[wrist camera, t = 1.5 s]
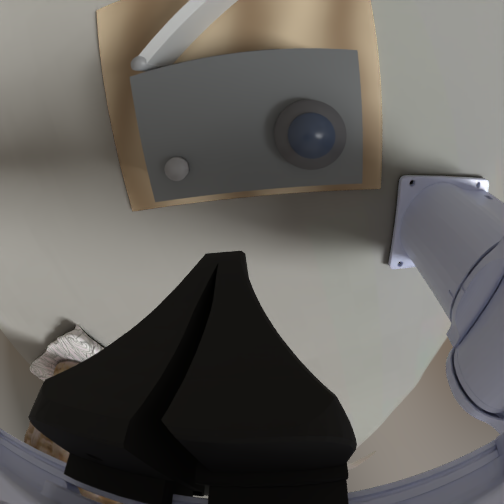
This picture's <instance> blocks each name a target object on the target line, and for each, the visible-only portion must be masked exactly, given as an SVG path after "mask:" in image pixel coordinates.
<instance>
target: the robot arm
mask: <svg viewBox="0 0 504 504" xmlns="http://www.w3.org/2000/svg"><path fill="white" fill-rule="evenodd" d="M411 180H413V183H412V184H411V185H410V184H409V183H410V181H411ZM477 182H478V184H477ZM476 184H477V186H476ZM488 188H489V181H488V180H487V179H485V178H472V177H454V176H425V175H404V176H402V177H401V178H400V180H399V187H398V198H397V208H396V216H395V224H394V232H393V238H392V245H391V251H390V257H389V266H390V268H391V269H401V268H410V267H416V268H417V269H418V271H419V272H420V273H421V275H422V276H423V278H424V279H425V281H426V282H427V284H428V286H429V287H430V289H431V290H432V292H433V293H434V295H435V296H436V298H437V300H438V301H439V303H440V305H441V306H442V308H443V309H444V311H445V313H446V315H447V316H448V318H449V320H450V321H451V327H450V329H449V330H448V332H447V336H448V338H449V340H450V342H451V344H452V346H453V348H452V350H451V351H450V352H449V355H448V357H447V361H446V374H447V379H448V383H449V386H450V388H451V391H452V393H453V396H454V397H455V399H456V400H457V402H458V403H459V405H460V406H461V407H462V408H463V409H464V410H465V411H466V412H467V413H469V414H470V415H471V416H473V417H474V418H476V419H478V420H481V421H483V422H486V423H488V424H489V425H491V426H492V427H493V428H495V430H496V431H497V432H498V433H499V434H500V435H499V436H498V437H497V438H496V439H495V440H493V441H492V442H490V443H488V444H486V445H484V446H483V447H481V448H479V449H477V450H475V451H473V452H471V453H469V454H467V455H464V456H462V457H460V458H458V459H456V460H454V461H451V462H449V463H447V464H444V465H442V466H439V467H437V468H434V469H432V470H429V471H426V472H424V473H421V474H418V475H415V476H412V477H409V478H406V479H403V480H399V481H396V482H393V483H389V484H385V485H382V486H378V487H373V488H369V489H365V490H360V491H355V492H350V493H348V492H347V483H346V479H348V469H347V461H348V460H349V458H350V457H351V456H352V454H353V453H354V451H355V450H356V446H357V443H356V438H355V435H354V432H353V429H352V426H351V424H350V421H349V419H348V417H347V415H346V413H345V411H344V409H343V407H342V406H341V404H340V402H339V400H338V398H337V397H336V395H335V394H333V393H332V392H331V391H330V390H329V389H328V388H327V387H326V386H324V385H323V384H322V383H321V382H320V381H319V380H318V379H317V378H316V377H315V376H314V375H313V374H312V373H311V372H310V371H309V370H308V369H307V368H306V367H305V365H304V364H303V363H302V362H301V361H300V360H299V359H298V358H297V357H296V355H295V354H294V353H293V352H292V350H291V349H290V348H289V347H288V345H287V344H286V343H285V342H284V341H283V339H282V338H281V337H280V335H279V334H278V332H277V331H276V329H275V328H274V327H273V325H272V324H271V322H270V320H269V319H268V317H267V316H266V314H265V312H264V310H263V309H262V307H261V305H260V303H259V301H258V299H257V297H256V295H255V293H254V290H253V288H252V285H251V283H250V280H249V276H248V270H247V263H246V256H245V253H244V252H242V251H233V252H220V253H208V254H205V256H204V257H203V258H202V259H201V260H200V261H199V262H198V263H197V265H196V266H195V267H194V268H193V269H192V270H191V272H190V273H189V274H188V275H187V276H186V277H185V278H184V279H183V281H182V282H181V283H180V284H179V285H178V286H177V287H176V288H175V289H174V290H173V291H172V292H171V293H170V294H169V295H168V296H167V297H166V298H165V299H164V300H163V301H162V303H161V304H160V305H159V306H158V307H157V308H155V309H154V310H153V311H152V312H151V313H150V314H149V315H148V316H147V317H145V318H144V319H143V320H142V321H141V322H140V323H138V324H137V325H136V326H135V327H133V328H132V329H131V330H130V331H128V332H127V333H125V334H124V335H123V336H121V337H120V338H118V339H117V340H116V341H114V342H113V343H112V344H110V345H109V346H107V347H106V348H104V349H103V350H101V351H99V352H98V353H96V354H95V355H93V356H91V357H90V358H88V359H86V360H84V361H83V362H81V363H79V364H77V365H75V366H73V367H71V368H69V369H67V370H65V371H63V372H61V373H59V374H57V375H54V376H52V377H50V378H48V379H45V381H44V383H43V385H42V387H41V389H40V392H39V394H38V396H37V398H36V401H35V403H34V405H33V407H32V410H31V412H30V415H29V420H30V422H31V424H32V425H33V426H34V427H35V428H36V429H37V430H38V431H39V432H41V433H42V434H43V435H45V436H46V437H47V438H49V439H50V440H51V441H53V442H54V443H56V444H57V445H58V446H60V447H61V448H63V449H64V450H66V451H67V452H69V453H70V454H69V457H68V460H67V463H65V462H63V461H61V460H58V459H56V458H54V457H52V456H50V455H48V454H46V453H43V452H41V451H39V450H37V449H36V448H34V447H32V446H30V445H28V444H26V443H24V442H22V441H20V440H19V439H17V438H15V437H13V436H12V435H10V434H8V433H7V432H5V431H4V430H2V429H1V428H0V504H102V503H100V502H97V501H94V500H92V499H89V498H86V497H84V496H82V495H81V493H80V491H79V489H78V487H79V488H82V489H84V490H86V491H89V492H92V493H94V494H97V495H100V496H102V497H105V498H108V499H111V500H114V501H117V502H120V503H123V504H504V203H503V202H502V201H500V200H499V199H497V198H496V197H495V196H493V195H492V194H490V193H489V192H488ZM399 262H401V263H400V264H398V263H399ZM76 486H77V487H76ZM193 495H195V496H204V495H206V496H207V495H208V499H206V498H196V497H193Z"/></svg>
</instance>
